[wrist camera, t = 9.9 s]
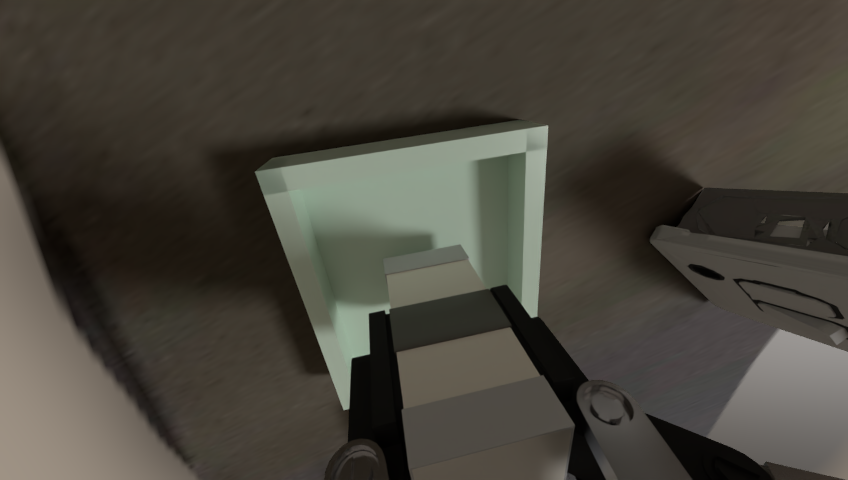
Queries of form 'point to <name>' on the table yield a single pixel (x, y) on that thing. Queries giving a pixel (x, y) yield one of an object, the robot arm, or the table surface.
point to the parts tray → (405, 221)
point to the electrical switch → (768, 257)
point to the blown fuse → (468, 378)
